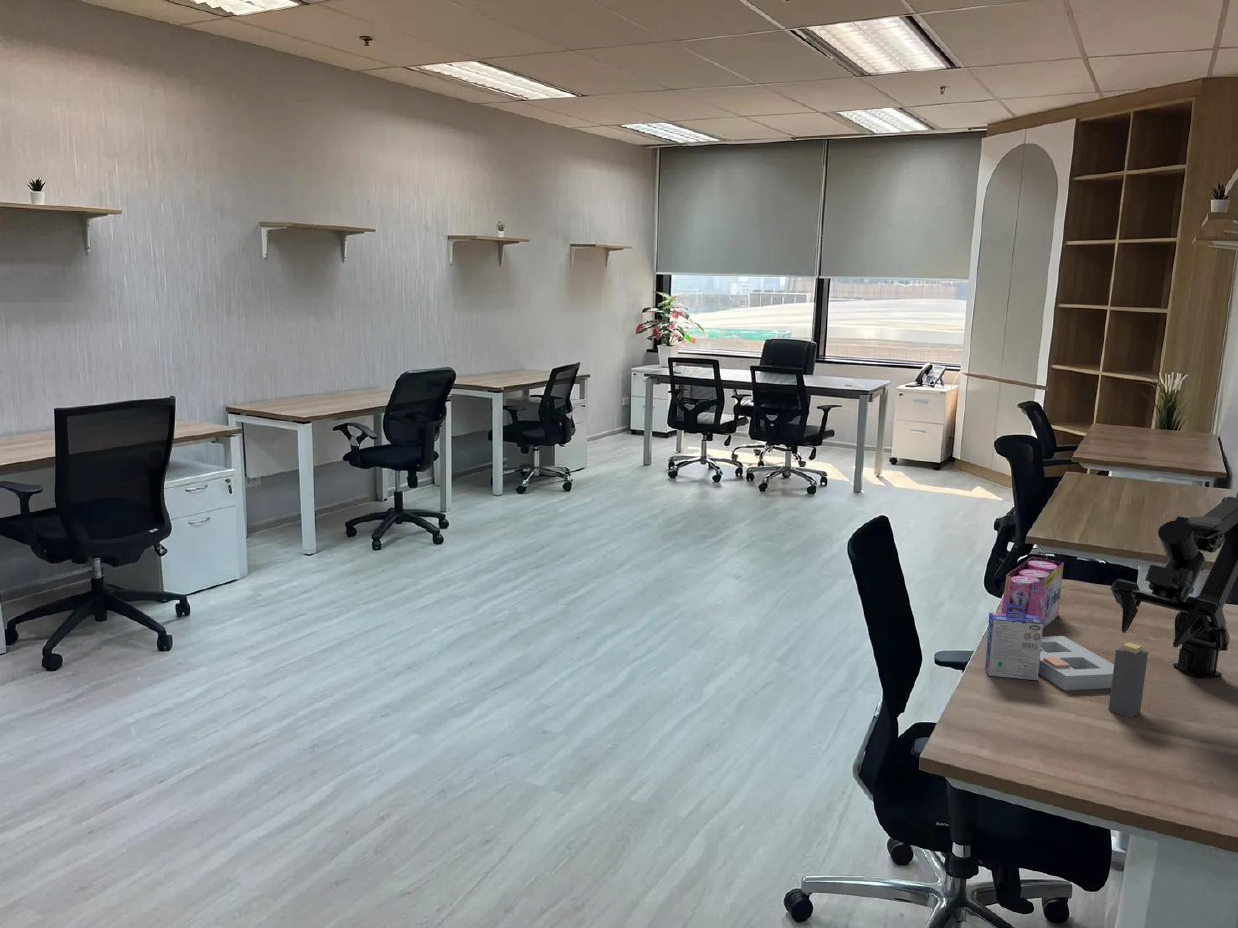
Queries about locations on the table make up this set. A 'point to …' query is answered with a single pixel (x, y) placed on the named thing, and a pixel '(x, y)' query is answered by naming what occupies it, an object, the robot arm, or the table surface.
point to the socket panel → (1073, 665)
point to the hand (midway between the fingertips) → (1148, 638)
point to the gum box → (1035, 588)
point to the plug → (1128, 680)
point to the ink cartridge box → (1014, 644)
